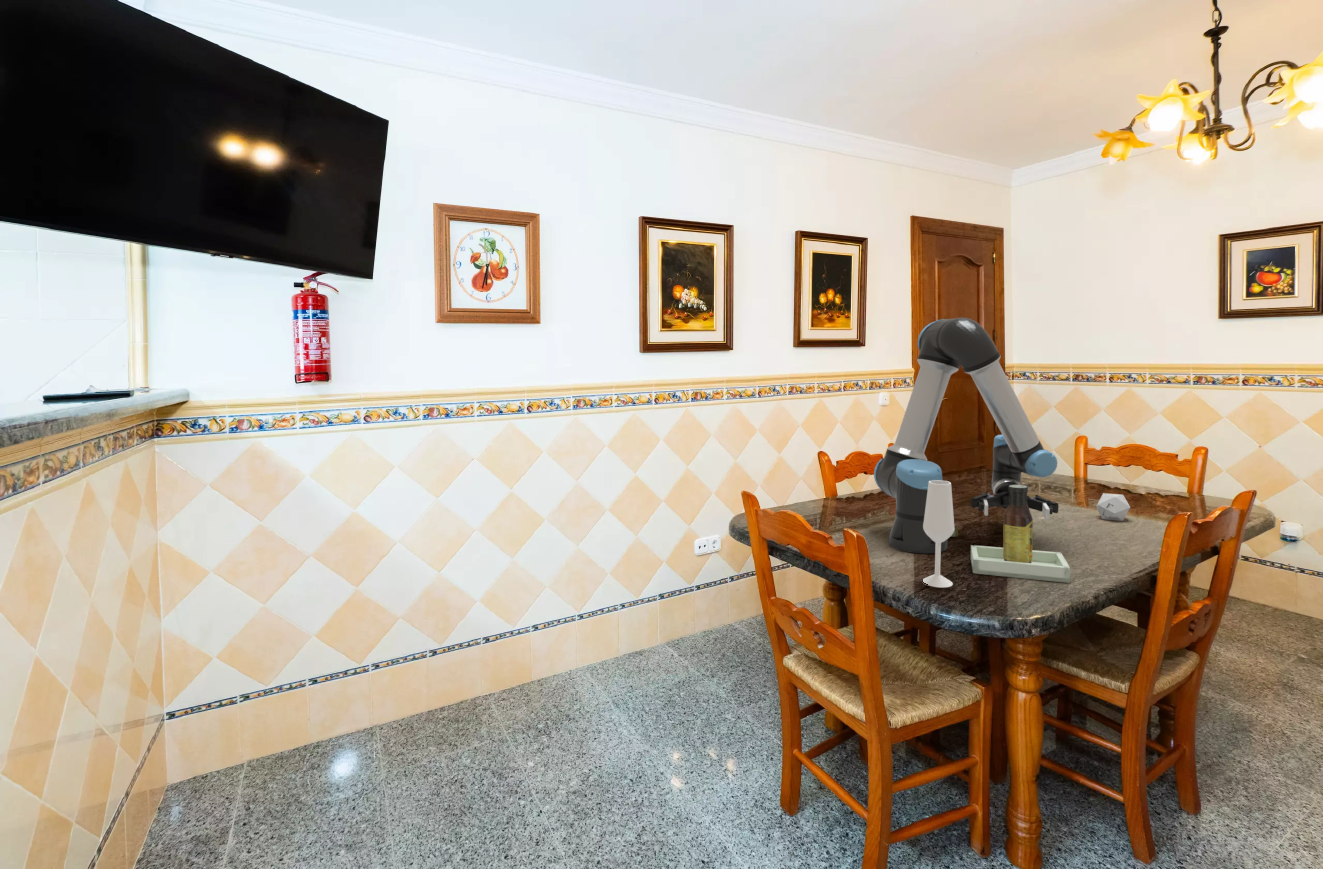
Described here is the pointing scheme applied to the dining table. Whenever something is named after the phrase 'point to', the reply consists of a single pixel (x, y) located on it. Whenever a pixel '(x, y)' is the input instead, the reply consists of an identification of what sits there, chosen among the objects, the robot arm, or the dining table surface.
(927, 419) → the robot arm
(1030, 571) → the tray
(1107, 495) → the die
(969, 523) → the dining table surface
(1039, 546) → the dining table surface
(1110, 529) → the dining table surface
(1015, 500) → the sauce bottle
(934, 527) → the champagne flute
